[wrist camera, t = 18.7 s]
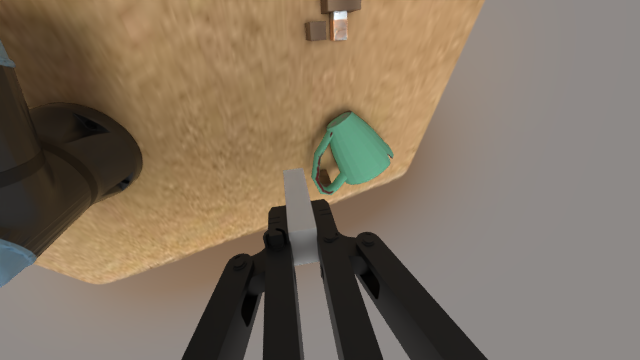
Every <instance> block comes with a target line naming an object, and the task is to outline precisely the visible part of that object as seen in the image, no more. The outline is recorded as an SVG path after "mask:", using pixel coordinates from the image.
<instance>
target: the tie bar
mask: <svg viewBox="0 0 640 360" xmlns="http://www.w3.org/2000/svg"><path fill="white" fill-rule="evenodd" d="M330 40H333V41H335V40H347V11H339V12H330Z"/></svg>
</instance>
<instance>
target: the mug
mask: <svg viewBox="0 0 640 360" xmlns="http://www.w3.org/2000/svg"><path fill="white" fill-rule="evenodd" d="M326 129H327V132H326V134H325V136H324V137H323V139H322V141H321V143H320V144H319V146H318V148H317V150H316V152H315V153H314V161H313V169H312V176H311V177H312V179H313V181H314V183H315V185H316V186H317V188H318V190H319V192H320V194H329V195H332V194H333V193H334V192H335V191H337V190H338V189H339V188H340V187H341V185H342V184H343V183H344V182H346V183H348V184H351V185H354V184H361V183H364V182H367V181H369V180H371V179H373V178H375V177H376V176H378V175H379V174H381V173H382V172H383V171H384V170H385V169H386V168H387V167H388V166H389V165H390V159H389V157H388V155H389V156H390V157H391V158H393V153H392V151H391V149H390V147H389V146H388V145H387V144H386V143H385V142H384V141H383V140H382V139H381V138H380V137H379V136H378V134H377V133H376V132H375V131H374V130H373V129H372V128H371V127H370V126H369V125H368V124H367V123H366V122H364V121H363V120H362V119H361V118H359V117H358V116H357V115H355V114H354V113H353V112H352V111H347V112H345V113H343V114H341V115H339V116H338V117H336V118H335V119H334V120H332V121H331V122H330V123H329V124H328V125H327V127H326ZM329 143H330V146H331V150H332V153H333V156H334V158H335V160H336V163H337V165H338V168H339V171H340V174H339V175H338V176H337V177H336V179H335V180H334V181H333V183H331V184H330V185H329V186H327V187H323V185H322V184H321V183H320V181H319V172H320V161H321V157H322V155H323V153H324V151H325V149H326V148H327V146H328V144H329Z"/></svg>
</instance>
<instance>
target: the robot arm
mask: <svg viewBox="0 0 640 360" xmlns="http://www.w3.org/2000/svg"><path fill="white" fill-rule="evenodd" d="M13 67H16V66H15V63H14V62H13V61H12V60H11V59H9V57H8V55H7V53H6V51H5V48H4V46H3V44H2V42H1V39H0V287H2V286H3V285H5V284H6V283H8V282H9V281H10V280H11V279H12V278H13V277H15V276H16V275H17V274H18V273H19V272H21V271H22V270H23V269H24V268H25V267H27V266H29V265H32V264H33V263H34V262H35V261H36V259H37V258H38V257H39V256H40V255H41V254H42V253H43V252H44V251H45V250H46V249H47V248H48V247H49V246H50V245H51V244H52V243H53V242H54V241H55V240H56V239H57V238H58V237H59V236H60V235H61V234H62V233H63V232H64V231H65V230H66V229H67V228H68V227H69V226H70V225H71V224H72V223H73V222H74V221H75V220H77V219H78V218H79V217H80V216H81V215H82V214H83V213H84V212H85V211H86V210H87V209H88V208H89V207H90V206H91V205H92V204H94V203H96V202H99V201H101V200H104V199H106V198H108V197H111V196H113V195H116V194H118V193H120V192H122V191H123V190H125V189H126V188H128V187H129V186H130V185H131V184H132V183H133V182H134V181H135V179H136V178H137V177H138V176H139V174H140V171H141V168H142V157H141V153H140V150H139V148H138V146H137V144H136V142H135V141H134V139H133V138H132V137H131V135H130V134H129V133H128V132H127V131H126V130H125V129H124V128H123V127H122V126H121V125H119V124H118V123H117V122H115V121H114V120H112V119H111V118H109V117H108V116H106V115H104V114H102V113H100V112H98V111H96V110H93V109H91V108H88V107H85V106H81V105H76V104H70V103H51V104H46V105H43V106H40V107H36V108H33V109H30V110H28V107H27V104H26V102H25V99H24V96H23V93H22V90H21V88H20V85H19V82H18V79H17V76H16V73H15V71H14V68H13ZM283 174H284V187H285V199H286V205H285V206H278V207H272V208H271V210H270V211H269V213H268V230H267V231H266V232H265V233H264V236H263V240H264V243H265V248H264V249H263V250H262V251H261V252H259V253H257V254H255V255H253V256H250V255H248V254H244V253H243V254H238V255H236V256H234V257H232V258H231V259H230V260H229V261H228V263H227V264H226V266H225V269H224V271H223V273H222V275H221V277H220V279H219V282H218V283H217V285H216V288H215V290H214V292H213V294H212V296H211V298H210V300H209V303H208V305H207V307H206V309H205V311H204V313H203V315H202V317H201V319H200V321H199V323H198V326H197V328H196V330H195V332H194V334H193V336H192V338H191V341H190V342H189V345H188V347H187V349H186V351H185V353H184V355H183V357H182V360H243V358H244V355H245V352H246V348H247V345H248V341H249V338H250V334H251V330H252V327H253V323H254V320H255V317H256V313H257V310H258V306H259V303H260V299H261V296H262V292H264V291H265V299H264V336H263V360H304V352H303V342H302V333H301V323H300V313H299V303H298V293H297V284H296V273H295V267H294V266H296V265H301V264H307V263H313V262H317V261H320V269H321V277H322V279H323V284H324V289H325V294H326V299H327V304H328V308H329V314H330V319H331V324H332V329H333V334H334V338H335V343H336V348H337V354H338V358H339V360H383V357H382V354H381V351H380V348H379V345H378V342H377V340H376V336H375V334H374V331H373V328H372V325H371V322H370V319H369V316H368V313H367V310H366V307H365V304H364V301H363V298H362V295H361V292H360V289H359V286H358V283H357V280H356V278H355V274H356V276H357V278H358V279H359V281H360V282H361V284H362V285H363V287H364V289H365V290H366V292H367V293H368V295H369V296H370V298H371V299H372V301H373V302H374V304H375V305H376V307H377V309H378V310H379V312H380V313H381V315H382V316H383V318H384V319H385V321H386V323H387V324H388V325H389V327H390V328H391V330H392V332H393V333H394V335H395V336H396V338H397V339H398V341H399V343H400V344H401V346H402V347H403V349H404V350H405V352H406V353H407V355H408V356H409V358H410V359H411V360H488V359H487V358H486V357H485V356H484V355H483V354H482V353H481V351H479V349H478V348H477V347H476V346H475V345H474V344H473V343H472V341H471V340H470V339H469V338H468V337H467V336H466V335H465V333H464V332H463V331H462V330H461V329H460V328H459V327H458V326H457V325H456V323H455V322H454V321H453V320H452V319H451V318H450V317H449V315H447V313H446V312H445V311H444V310H443V309H442V308H441V306H440V305H439V304H438V303H437V302H436V301H435V300H434V299H433V298H432V296H431V295H430V294H429V293H428V292H427V291H426V290H425V288H424V287H423V286H422V285H421V284H420V283H419V282H418V281H417V279H416V278H415V277H414V276H413V275H412V274H411V273H410V272H409V271H408V269H407V268H406V267H405V266H404V265H403V264H402V263H401V261H400V260H399V259H398V258H397V257H396V256H395V255H394V254H393V252H392V251H391V250H390V249H389V248H388V247H387V246H386V245H385V243H384V242H383V241H382V240H381V239H380V238H379V237H378V236H377V235H376V234H374V233H371V232H363V233H360V234H359V235H358V236H357V237H356V238H354V237H347V236H344V235H342V234H340V233H339V232H338V230H337V228H336V225H335V222H334V218H333V215H332V213H331V210H330V207H329V203H328V202H327V201H325V200H324V199H321V200H315V201H310V197H309V193H308V188H307V184H306V179H305V175H304V171H303V168H298V169H290V170H283Z"/></svg>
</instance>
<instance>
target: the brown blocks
mask: <svg viewBox="0 0 640 360" xmlns="http://www.w3.org/2000/svg"><path fill="white" fill-rule="evenodd" d="M360 9H361V0H321V14H327V13H330V12H339V11H347V12H353V11H356V10H360ZM305 28H306V40H310V41H314V40H326V21H318V22H308V23H305ZM319 181H320V183H321V184H322V185H323V187H327V186H329V185H330V184H331V181H330V178H329V176H328V173H327V171H326V170H322V171H320V172H319Z"/></svg>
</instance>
